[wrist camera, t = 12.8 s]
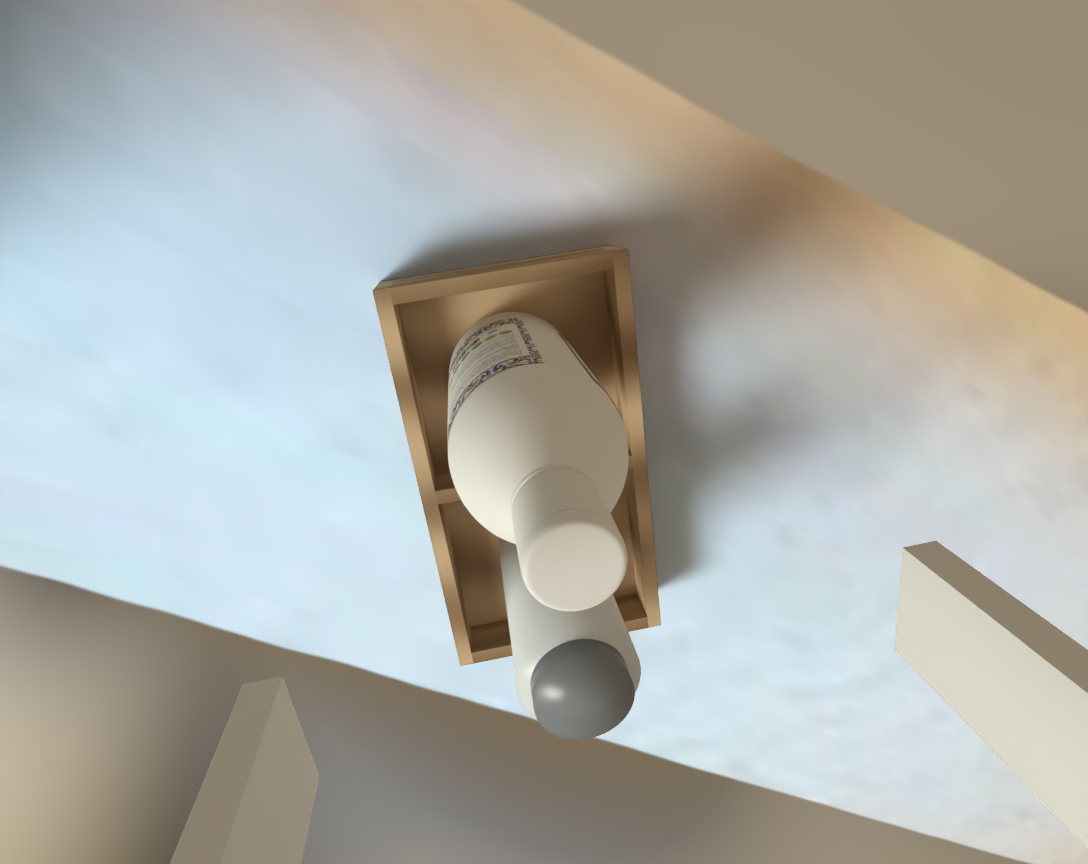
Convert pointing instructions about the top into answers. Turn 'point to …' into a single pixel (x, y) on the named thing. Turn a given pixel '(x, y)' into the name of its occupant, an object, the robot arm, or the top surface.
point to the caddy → (422, 389)
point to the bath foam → (539, 456)
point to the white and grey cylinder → (568, 659)
